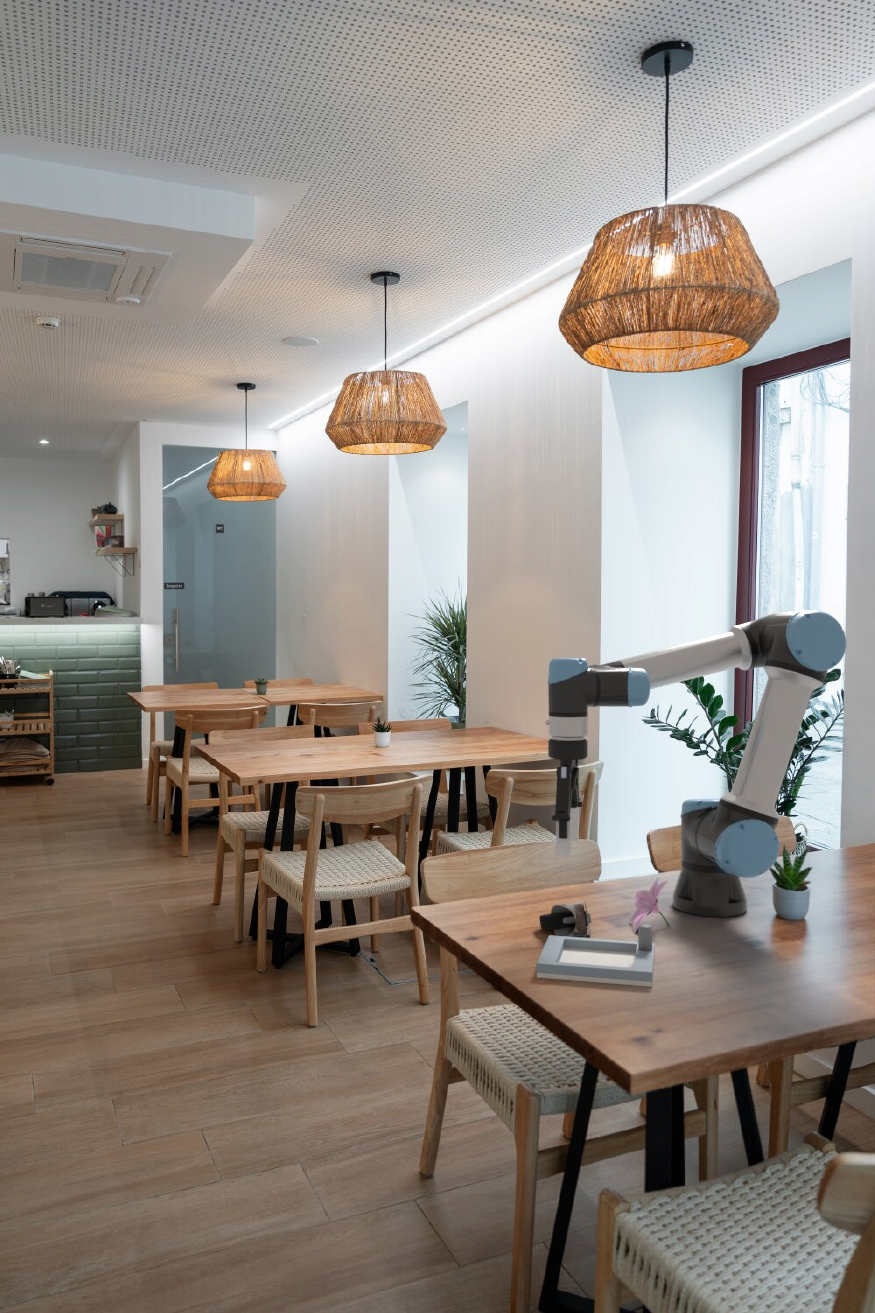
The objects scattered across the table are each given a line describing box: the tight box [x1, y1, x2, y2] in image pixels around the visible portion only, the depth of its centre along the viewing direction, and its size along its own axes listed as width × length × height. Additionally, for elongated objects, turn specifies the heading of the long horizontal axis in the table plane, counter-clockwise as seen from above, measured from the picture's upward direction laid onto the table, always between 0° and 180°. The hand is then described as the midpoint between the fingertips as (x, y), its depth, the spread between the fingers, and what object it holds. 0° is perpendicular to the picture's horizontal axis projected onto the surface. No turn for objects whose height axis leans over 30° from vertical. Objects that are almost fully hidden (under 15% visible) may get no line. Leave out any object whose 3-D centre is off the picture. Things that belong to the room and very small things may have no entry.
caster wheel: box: [538, 899, 592, 937], centre depth 191 cm, size 7×11×10 cm
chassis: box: [536, 924, 656, 988], centre depth 172 cm, size 19×16×6 cm
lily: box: [628, 877, 670, 934], centre depth 195 cm, size 12×12×10 cm
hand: (567, 847), depth 191 cm, fingers open, 13 cm apart
